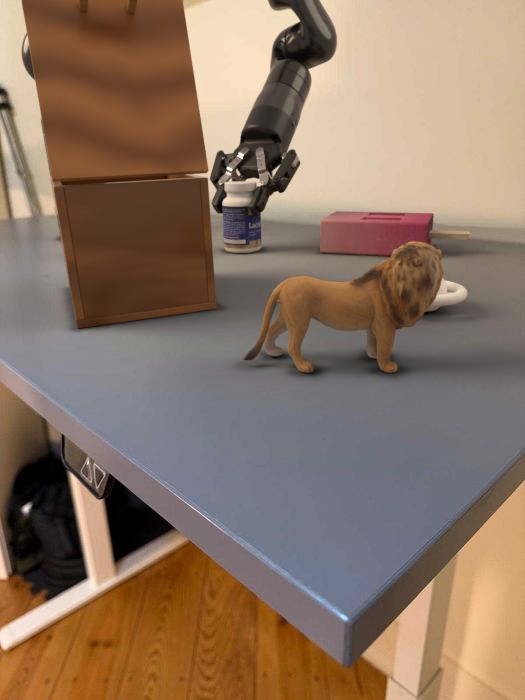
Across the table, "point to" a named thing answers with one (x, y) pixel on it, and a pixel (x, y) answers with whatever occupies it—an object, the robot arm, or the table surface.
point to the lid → (115, 88)
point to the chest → (136, 247)
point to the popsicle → (378, 232)
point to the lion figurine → (356, 304)
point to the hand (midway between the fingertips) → (235, 210)
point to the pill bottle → (240, 218)
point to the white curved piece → (448, 295)
